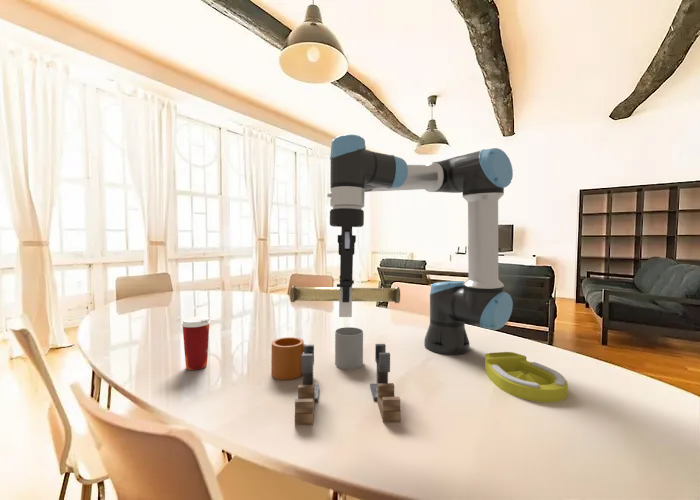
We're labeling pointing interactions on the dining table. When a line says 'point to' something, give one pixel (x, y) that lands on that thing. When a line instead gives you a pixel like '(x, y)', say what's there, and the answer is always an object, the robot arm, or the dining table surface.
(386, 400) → the rest
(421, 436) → the dining table surface
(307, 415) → the rest
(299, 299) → the rail
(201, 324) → the paper cup
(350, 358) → the cup
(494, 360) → the ashtray
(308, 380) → the post
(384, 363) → the post
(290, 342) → the mug
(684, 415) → the dining table surface
